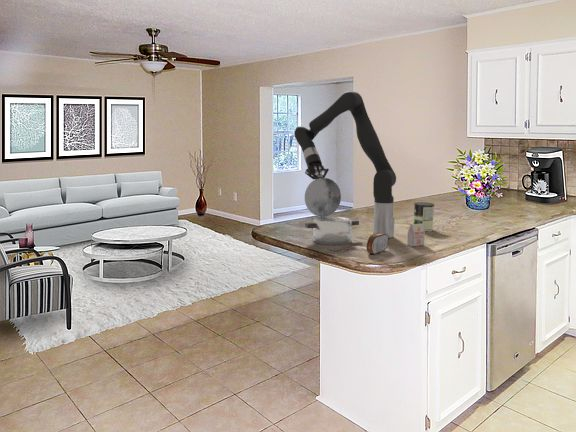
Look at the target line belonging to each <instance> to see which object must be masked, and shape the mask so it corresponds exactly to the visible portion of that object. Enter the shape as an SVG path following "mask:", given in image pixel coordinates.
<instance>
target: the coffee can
mask: <svg viewBox="0 0 576 432" xmlns="http://www.w3.org/2000/svg"><path fill="white" fill-rule="evenodd" d="M413 204H414V206H413V209H414V210H413V221H412V222H413V224H423V227H424V231H428V232H432V231H433V227H434V225H433V224H434V214H435V213H434V212H435V211H434V209H435V203H433V202H426V201H425V202H424V201H423V202H422V201H421V202H420V201H419V202H414V203H413Z"/></svg>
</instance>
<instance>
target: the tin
mask: <svg viewBox="0 0 576 432" xmlns="http://www.w3.org/2000/svg"><path fill="white" fill-rule="evenodd" d="M388 245H389V238H388V235H387V234H386V233H382V232H380V233H376V234H373V233H372V234H371V235H370V236H369V237H368V239H367V242H366V252H367V253H368V254H370V255H371V254H372V255H377V254H380V253H382V251H383V252H385V251H384V250H387V247H388ZM379 252H380V253H379Z"/></svg>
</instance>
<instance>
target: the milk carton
mask: <svg viewBox="0 0 576 432" xmlns="http://www.w3.org/2000/svg"><path fill="white" fill-rule="evenodd" d="M425 235H426V232H424V227H423V224H410V226H409V229H408V232H407V240H406V241H407V243H406V245H407V246H408V245H410V246H409V247H411V246H416V247H420V246H419V245H424V246H425V237H426V236H425Z"/></svg>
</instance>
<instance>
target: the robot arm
mask: <svg viewBox="0 0 576 432" xmlns="http://www.w3.org/2000/svg"><path fill="white" fill-rule="evenodd" d="M348 111H350V113H351V115H352V117H353V119H354V122H355V123H354V124H355V129H356V130H355V132H356V138H357V139H358V142H359V144H360V147H361V149H362V151H363V152H364V154H365V155H366V157H368V159H369V160H370V161H371V162H372V165H373V166H374V169H375V172H376V173H375V174H374V176H373V184H372V185H373V190H372V191H373V192H372V194H373V199H374V202H373V203H374V205H373V207H374V208H373V210H374V211H373V227H372V228H373V229H372V230H373V231H372V235H373V234H376V233H380V232H382V233H386V234H387V235H388V239H390V238H393V237H394V235H395V217H394V202H395V201H394V199H395V198H394V195H393V187H394V185H396V182H397V175H396V172H395V170H394V169H393V168H392V166H391V164H390V162H389V160H388V158H387V157H386V152H385V151H384V149H383V146H382V144H381V141H380V139H379V137H378V134H377V132H376V130H375V128H374V125H373V123H372V121H371V119H370V117H369V114H368V111H367V109H366V106H365V102H364V99H363V97H362V95H361V94H360V93H359V92H357V91H351V90H349V91H345V92H343V94H341V96H339V97H338V98H337V99H336V101H334V103H333V104H331V105H330V106H329V107H328V108H327V109H325V111H323V112H322V113H319V115H318V116H316V117H314V118H313V119H312V120H310V122H309V124H308V126H309V128H306V127H304V126H303V125H299V126H297V127H296V128H295V130H294V134H293V135H294V138H295V140H296V142H297V143H298V145H299V146H300V148H301V150H302V153H303V158H304V160H305V161H304V162H305V164H306V167H307V168H306V169H305V171H304V174H305V175H307V176H308V178H310V179H312V181H314V180H315V179H318V178H326V176H327V174H328V173H329V171H330V169H329V168H325V167H324V165H323V162H322V160H321V157H320V154H319V151H318V150H317V148H316V145H315V142H314V141H313V140H315V138H316V137H317V136H318V134H319V133H320V132H321V131H323V130H324V129H325V128H327V127H328V126H330V125H331V123H332V122H333V121H334V120H335V119H337V117H338V116H340V115H341V114H344V113H345V112H348Z"/></svg>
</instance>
